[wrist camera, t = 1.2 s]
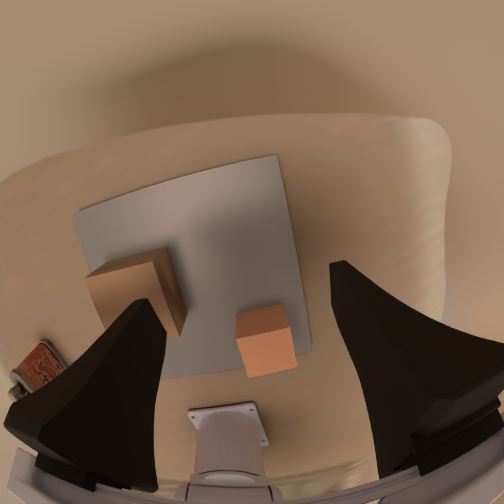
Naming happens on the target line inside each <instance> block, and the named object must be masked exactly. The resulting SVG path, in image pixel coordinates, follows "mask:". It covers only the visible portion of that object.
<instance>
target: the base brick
mask: <svg viewBox="0 0 504 504" xmlns="http://www.w3.org/2000/svg"><path fill="white" fill-rule="evenodd" d="M84 280H85V283H86V285H87V288H88V290H89V293H90V295H91V298H92V300H93V303H94V305H95V308H96V310H97V312H98V314H99V317H100V319H101V321H102V323H103V326H104V328H105V330H107V328H108V327H109V326H110V325H111V324H112V323H113V322H114V321H115V320H116V319H117V317H118V316H119V315H120V314H121V313H122V312H123V311H124V310H125V309H126V308H127V307H128V306H129V305H130V304H131V303H132V302H133V301H134V300H136V299H143V298H148V299H149V301H150V303H151V305H152V307H153V309H154V310H155V312H156V314H157V316H158V318H159V319H160V321H161V323H162V325H163V326H164V328H165V330H166V331H167V339H173V338H179V337H180V336H181V333H182V330H183V326H184V323H185V320H186V317H187V314H188V311H187V308H186V305H185V302H184V299H183V296H182V293H181V290H180V287H179V284H178V281H177V278H176V275H175V272H174V269H173V266H172V262H171V259H170V256H169V253H168V249H167V247H163V248H159V249H156V250H152V251H148V252H144V253H140V254H136V255H132V256H129V257H125V258H121V259H117V260H114V261H110V262H106V263H104V264H103V265H102V266H100V267H99V268H98V269H96V270H95V271H93V272H92V273H91V274H89V275H88V276H87V277H85V278H84Z"/></svg>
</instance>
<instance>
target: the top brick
mask: <svg viewBox="0 0 504 504" xmlns="http://www.w3.org/2000/svg"><path fill="white" fill-rule="evenodd" d="M236 341H237V344H238V347H239V350H240V354H241V357H242V360H243V363H244V366H245V369H246V372H247V375H248V378H251V377H256V376H261V375H266V374H271V373H275V372H280V371H284V370H288V369H292V368H296V367H297V362H296V357H295V351H294V346H293V340H292V335H291V330H290V326H289V323H288V320H287V317H286V314H285V311H284V308H283V306H282V303H281V304H277V305H272V306H268V307H264V308H259V309H255V310H250V311H246V312H241V313H236Z"/></svg>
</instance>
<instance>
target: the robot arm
mask: <svg viewBox="0 0 504 504" xmlns="http://www.w3.org/2000/svg"><path fill="white" fill-rule="evenodd" d="M329 268H330V286H331V305H332V308H333V312H334V315H335V319H336V322H337V325H338V328H339V330H340V333H341V335H342V337H343V340H344V342H345V344H346V347H347V349H348V351H349V354H350V356H351V359H352V361H353V363H354V366H355V368H356V371H357V374H358V376H359V379H360V383H361V386H362V390H363V394H364V398H365V402H366V406H367V410H368V415H369V419H370V424H371V429H372V434H373V440H374V446H375V452H376V459H377V468H378V474H379V479H380V480H377V481H373V482H370V483H367V484H364V485H360V486H357V487H353V488H349V489H345V490H341V491H337V492H332V493H328V494H323V495H318V496H312V497H306V498H300V499H292V500H284V499H283V495H282V492H281V490H280V489H279V488H277V487H276V486H275V485H268V479H267V477H265V475H264V465H263V456H262V447H263V446H267V445H269V442H268V439H267V437H266V434H265V431H264V428H263V426H262V423H261V420H260V417H259V415H258V412H257V409H256V406H255V404H254V403H252V402H250V403H244V404H237V405H231V406H224V407H216V408H208V409H198V410H189V411H188V413H187V414H188V416H189V418H190V420H191V421H192V423H193V425H194V426H195V428H196V429H197V431H198V439H197V449H196V458H195V468H194V474H191V478H190V483H189V482H183V483H182V484H181V485H179V486H178V487H177V490H176V493H175V499H174V500H173V499H165V498H159V497H153V496H147V495H142V494H137V493H133V492H128V491H124V490H122V488H123V489H128V490H131V489H134V490H139V491H144V492H149V493H154V492H155V491H157V490H158V483H157V476H156V469H155V458H154V412H155V402H156V396H157V391H158V386H159V382H160V377H161V372H162V368H163V363H164V358H165V352H166V341H167V331H166V330H165V328H164V326H163V325H162V323H161V321H160V319H159V318H158V316H157V314H156V312H155V310H154V309H153V307H152V305H151V303H150V301H149V299H148V298H143V299H136V300H134V301H133V302H132V303H131V304H130V305H129V306H128V307H127V308H126V309H125V310H124V311H123V312H122V313H121V314H120V315H119V316H118V317H117V319H116V320H115V321H114V322H113V323H112V324H111V325H110V326H109V327H108V328H107V330H106V331H105V332H104V333H103V334H102V335H101V336H100V337H99V338H98V339H97V340H96V341H95V342H94V343H93V344H92V345H91V346H90V348H89V349H88V350H87V351H86V352H85V353H84V354H83V355H82V356H80V357H79V358H78V359H77V360H76V361H75V362H74V363H73V364H72V365H70V366H69V367H68V368H67V369H66V370H64V371H63V372H62V373H60V374H59V375H58V376H57V377H55V378H54V379H53V380H51V381H50V382H49V383H47V384H46V385H44V386H43V387H41V388H39V389H38V390H36V391H35V392H33V393H31V394H29V395H27V396H25V397H23V398H22V399H20V400H18V401H16V402H13V403H12V405H11V407H10V409H9V411H8V414H7V416H6V418H5V421H4V427H5V428H6V429H7V430H8V431H9V432H10V433H11V434H13V435H14V436H15V437H17V438H18V439H19V440H21V441H22V442H23V443H25V444H26V445H28V446H29V447H31V448H32V449H34V450H35V451H37V452H38V455H37V457H36V456H34V455H32V454H30V453H29V452H26V451H25V450H23V449H21V448H17V451H16V454H15V457H14V461H13V465H12V468H11V472H10V476H9V480H8V485H7V489H8V491H10V492H11V493H12V494H13V495H15V496H16V497H17V498H19V499H20V500H21V501H22V502H24V503H25V504H365V503H368V502H371V501H375V500H378V499H380V500H379V501H378V503H377V504H491V503H492V502H493V501H495V500H496V499H497V498H498V497H499V496H500V495H501V494H502V493H503V492H504V412H503V413H501V414H500V413H499V411H498V409H497V408H499V407H500V406H501V402H500V401H499V398H498V395H499V394H500V393H501V392H502V391H503V390H504V343H500V342H496V341H492V340H487V339H484V338H480V337H477V336H473V335H471V334H468V333H465V332H462V331H459V330H457V329H454V328H451V327H449V326H447V325H444V324H442V323H440V322H438V321H436V320H433V319H431V318H429V317H427V316H425V315H424V314H422V313H420V312H418V311H416V310H414V309H413V308H411V307H409V306H407V305H406V304H404V303H403V302H401V301H399V300H398V299H396V298H395V297H393V296H392V295H390V294H389V293H387V292H386V291H384V290H383V289H382V288H380V287H379V286H378V285H376V284H375V283H374V282H372V281H371V280H370V279H368V278H367V277H366V276H365V275H363V274H362V273H361V272H359V271H358V270H357V269H356V268H354V267H353V266H352V265H351V264H349V263H348V262H347V261H345V260H342V261H338V262H333V263H329ZM381 498H382V499H381Z"/></svg>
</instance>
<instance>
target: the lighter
mask: <svg viewBox="0 0 504 504" xmlns="http://www.w3.org/2000/svg"><path fill="white" fill-rule="evenodd" d="M68 367H69V365H68V363H67V362H66V361H65V359H64V358H63V356H62V355H61V353H60V352H59V351H58V350H57V348H56V347H55V346H54V344H53V343H52V342H51V341H50V340H48V339H46V338H43V339H42V340H41V341H40V342H39V343H38V344H37V347H36V348H35V349H34V350H33V351H32V352H31V353H30V354H29V355H28V356H27V357H26V358H25V359H24V360H23V361H22V363H21V364H20V365H19V366H18V367H17V368H16V369H13V370H12V371H11V372H10V374H9V375H10V378H11V380H12V382H13V383H14V385H15V386H14V387H13V388H11V389H10V390H9V392H8V393H7V394H8V396H9V397H10V399H11V400H12V401H13V402H16V401H18V400H20V399H22V398H23V397H25V396H27V395H29V394H31V393H33V392H35V391H36V390H38V389H39V388H41V387H43V386H44V385H46V384H47V383H49V382H50V381H51V380H53V379H54V378H55V377H57V376H58V375H59V374H60V373H62V372H63V371H64V370H66V369H67V368H68Z"/></svg>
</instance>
